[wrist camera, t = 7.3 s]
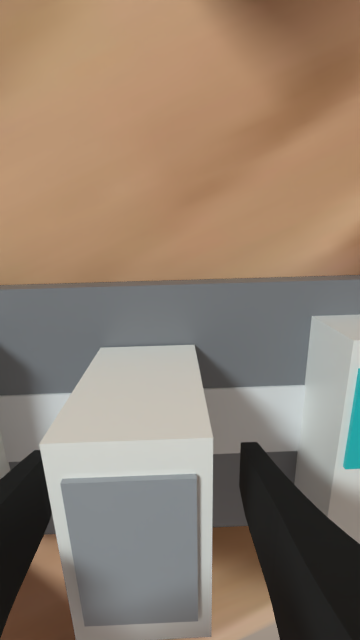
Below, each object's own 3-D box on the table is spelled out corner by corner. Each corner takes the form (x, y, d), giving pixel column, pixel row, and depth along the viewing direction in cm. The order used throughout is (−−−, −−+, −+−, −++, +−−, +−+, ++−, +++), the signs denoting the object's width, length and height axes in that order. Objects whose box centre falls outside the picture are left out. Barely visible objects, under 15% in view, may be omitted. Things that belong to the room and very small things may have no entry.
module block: (114, 480, 14) (74, 650, 9) (100, 347, 12) (36, 448, 7) (195, 477, 15) (212, 643, 9) (194, 344, 13) (213, 442, 7)
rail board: (-37, 517, 17) (-108, 612, 12) (-105, 288, 13) (-238, 313, 9) (351, 501, 17) (410, 589, 13) (391, 274, 13) (492, 292, 9)
